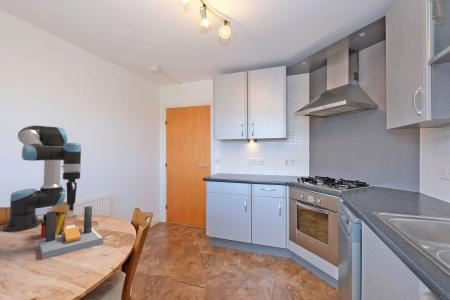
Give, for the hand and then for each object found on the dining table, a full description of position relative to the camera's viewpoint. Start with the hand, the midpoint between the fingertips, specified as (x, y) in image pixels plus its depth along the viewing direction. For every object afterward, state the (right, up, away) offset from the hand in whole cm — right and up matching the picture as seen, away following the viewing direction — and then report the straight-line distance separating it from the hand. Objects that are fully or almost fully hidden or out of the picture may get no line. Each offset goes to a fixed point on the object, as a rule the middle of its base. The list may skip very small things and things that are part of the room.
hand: (70, 216), depth 111 cm
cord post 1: (-6, -10, -6) cm, 13 cm away
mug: (-15, -14, +7) cm, 21 cm away
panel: (+3, -14, -3) cm, 14 cm away
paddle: (+3, -8, -3) cm, 9 cm away
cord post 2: (+5, -11, +5) cm, 13 cm away
